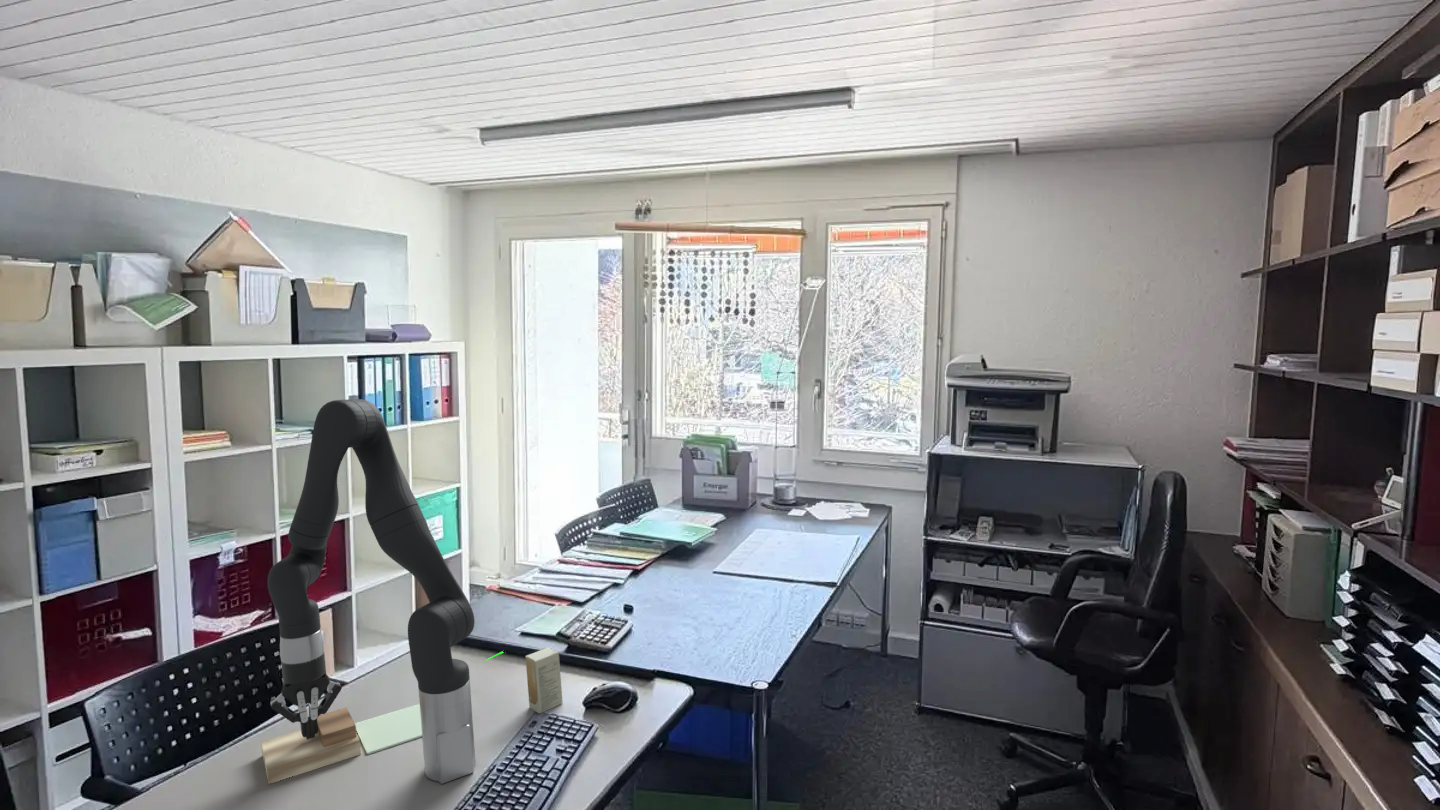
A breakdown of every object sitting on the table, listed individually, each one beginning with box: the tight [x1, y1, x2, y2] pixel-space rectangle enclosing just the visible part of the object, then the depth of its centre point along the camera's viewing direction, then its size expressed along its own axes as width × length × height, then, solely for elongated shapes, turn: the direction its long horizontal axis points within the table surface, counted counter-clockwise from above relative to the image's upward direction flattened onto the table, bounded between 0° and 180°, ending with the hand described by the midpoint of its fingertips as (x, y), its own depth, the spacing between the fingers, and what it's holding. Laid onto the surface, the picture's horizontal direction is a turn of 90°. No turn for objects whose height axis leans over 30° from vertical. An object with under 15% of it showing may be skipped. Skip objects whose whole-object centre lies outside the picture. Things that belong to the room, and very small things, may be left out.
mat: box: [354, 703, 422, 755], centre depth 165 cm, size 14×20×1 cm
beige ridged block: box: [260, 729, 362, 785], centre depth 154 cm, size 12×16×3 cm
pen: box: [484, 650, 505, 661], centre depth 199 cm, size 1×14×1 cm, turn 144°
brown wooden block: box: [317, 707, 358, 747], centre depth 156 cm, size 9×6×2 cm, turn 36°
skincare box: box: [525, 646, 563, 714], centre depth 170 cm, size 6×4×12 cm
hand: (310, 736), depth 153 cm, fingers closed
